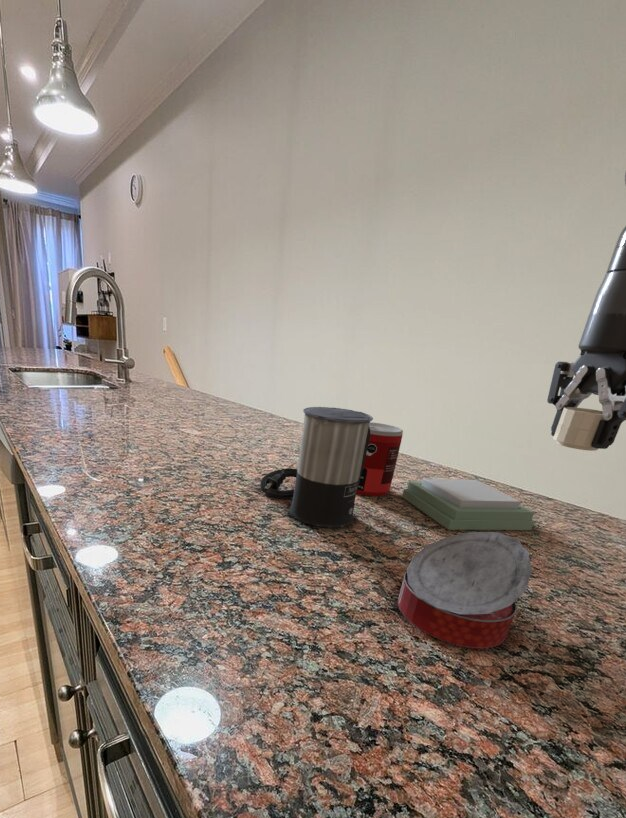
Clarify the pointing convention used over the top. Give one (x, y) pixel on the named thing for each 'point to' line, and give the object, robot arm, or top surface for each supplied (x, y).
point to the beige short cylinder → (577, 428)
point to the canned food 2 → (466, 588)
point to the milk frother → (325, 467)
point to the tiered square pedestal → (470, 494)
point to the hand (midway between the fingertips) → (577, 441)
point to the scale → (466, 512)
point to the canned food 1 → (380, 460)
